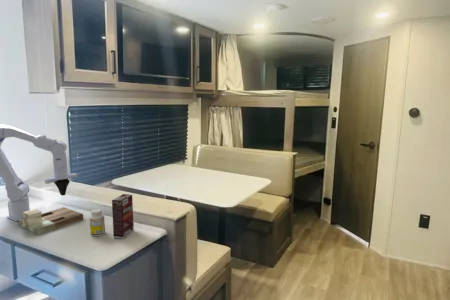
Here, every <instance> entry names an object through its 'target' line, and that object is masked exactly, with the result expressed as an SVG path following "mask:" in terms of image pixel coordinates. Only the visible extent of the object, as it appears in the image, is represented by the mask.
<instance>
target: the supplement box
mask: <svg viewBox="0 0 450 300" xmlns="http://www.w3.org/2000/svg"><path fill="white" fill-rule="evenodd" d="M111 207H112V208H111V211H112V228H113V238H114V239H119V240H120V239H121V240H123V239H126V238H127V237H128V236H129V235H130V234H131V233H132V232H134V231H135V228H134V227H135V226H134V206H133V194H129V193H122V194H121V195H118V196H117V197H115V198H114V199H112V200H111Z"/></svg>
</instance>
